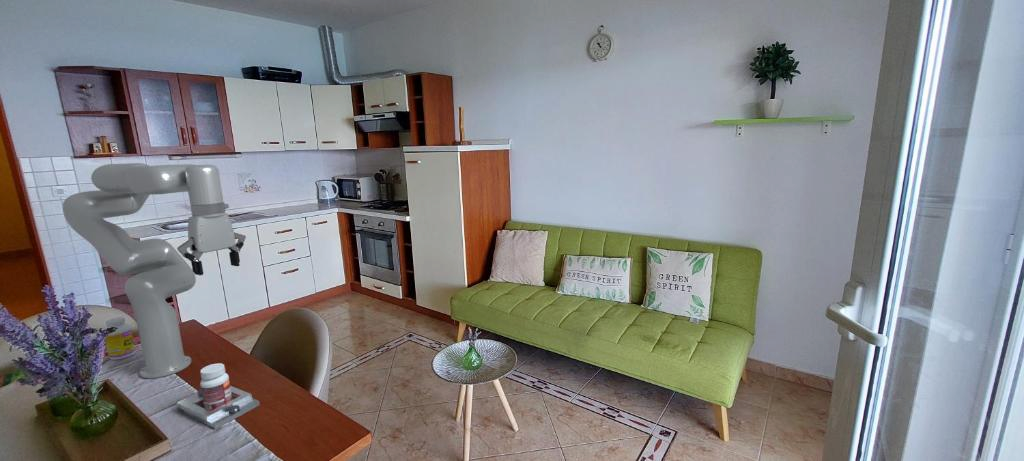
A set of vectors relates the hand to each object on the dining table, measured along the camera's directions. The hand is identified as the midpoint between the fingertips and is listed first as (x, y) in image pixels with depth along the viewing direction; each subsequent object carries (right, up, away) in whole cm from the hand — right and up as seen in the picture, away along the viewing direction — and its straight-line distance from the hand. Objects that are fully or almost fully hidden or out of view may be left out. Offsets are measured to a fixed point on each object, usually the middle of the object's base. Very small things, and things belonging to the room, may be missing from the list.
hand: (217, 270), depth 121 cm
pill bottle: (+6, -36, -9) cm, 37 cm away
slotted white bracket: (+6, -35, -9) cm, 37 cm away
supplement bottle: (-47, -31, +22) cm, 61 cm away
